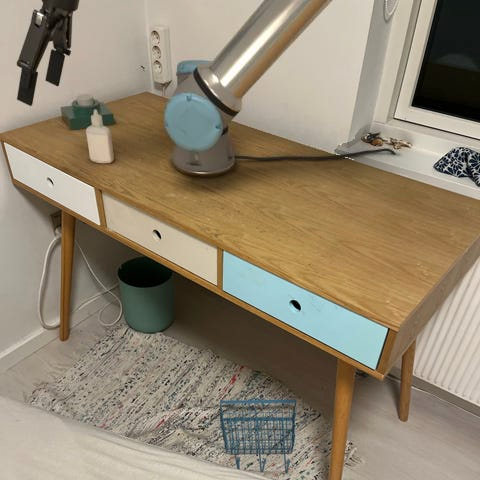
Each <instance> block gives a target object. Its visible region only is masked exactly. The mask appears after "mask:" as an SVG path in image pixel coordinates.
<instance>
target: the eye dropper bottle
mask: <svg viewBox="0 0 480 480" xmlns="http://www.w3.org/2000/svg"><path fill="white" fill-rule="evenodd" d="M91 121H92V125H91V126H89V127H88V128H85V129H86V130H85V134H86V141H87V149H88V155H89V160H90V161H91V162H93V163H98V164H111V163H113V161H114V160H115V156H114V155H115V154H114V147H113V139H112V131H111V129H110V128H109V127H107V126H103V122H102V116H101V115H99V114H98V111H97V110H96V109H95V110H94V114H93V115H92V116H91Z"/></svg>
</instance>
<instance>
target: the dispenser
mask: <svg viewBox="0 0 480 480" xmlns="http://www.w3.org/2000/svg"><path fill="white" fill-rule="evenodd" d="M93 100H94V104H93V105H90V106H80V105H77V99H74V100H72V102H71V104H70V105H67V106H59V107H60V112H61V117H62V119H63V121H64V122H65V124H66V125H67V127H68V128H69V129H70V131H75V130H84V129H87V128H88V127H89V126H91V125H92V121H91V116H92V115H93V114H94V110H95V109H96V110H97V111H98V114H99V115H101V116H102V122H103V126H105V127H107V126H113V125H115V118H114V112H113V111H112V110H110V108H108V106H107V105H106V104H105V103H104V102H102V101H101V102H100V101H99V100H98V99H95V98H93Z"/></svg>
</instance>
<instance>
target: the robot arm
mask: <svg viewBox="0 0 480 480" xmlns="http://www.w3.org/2000/svg"><path fill="white" fill-rule="evenodd" d="M41 2H42V5H41V8H40V9H39V10H37V9H35V8H34V9H33V11H32V15H31V18H30V24H29V27H28V30H27V33H26V35H25V39H24V41H23V44H22V47H21V49H20V54H19V56H18V59H17V60H16V66H17V67H18V68H20V69H21V72H20V76H19V82H18V83H19V84H18V89H17V96H16V100H17V101H19V102H21V103H23V104H24V105H27V106H29V107H32V106H33V104H34V98H35V92H36V87H37V81H38V76H39V71H37V70H38V68H39V66H40V63H41V62H42V59H43V57H44V55H45V52H46V49H47V47H48V45H49V43H50V42H52V45H53V48H52V49H50V54H49V59H48V63H47V68H46V69H47V70H46V74H45V80H44V81H45V82H47V83H49V84H51V85H53V86H56V87H59V86H60V83H61V79H62V74H63V70H64V69H63V68H64V64H65V59H66V56H68V57H70V56H71V54H72V50H71V49H72V48H71V47H72V37H73V36H72V35H73V15H74V12H76V11H77V10H78V9H79V6H80V5H79V4H80V0H41ZM332 2H333V0H263V1H262V2H261V3H260V4H259V6H258V7H257V8H256V9H255V11H253V13H252V14H251V15H250V16H249V17H248V18H247V20H246V21H245V22H244V23H243V25H242V26H241V27H240V28H239V29H238V30H237V32H236V33H235V34H234V35H233V36H232V38H230V40H229V41H228V42H227V43H226V44H225V46H224V47H223V48H222V49H221V50H220V52H219V53H218V54H217V55H216V57H215V58H213V60H205V59H204V60H203V59H190V60H189V59H188V60H187V59H186V60H182V61H179V62H178V63H177V65H176V73H175V76H176V88H175V90H174V91H173V93H172V95H171V97H170V99H169V100H168V101H167V102H166V106H165V107H164V116H163V122H164V123H163V124H164V128H165V130H166V133H167V135H168V136H169V139H171V141H172V142H173V143H174V147H173V151H172V154H171V155H172V156H171V163H172V167H173V168H174V169H175V170H176V171H178V172H179V173H181V174H185V175H187V176H192V177H198V178H213V177H218V176H222V175H225V174H227V173H230V172H231V171H232V170H233V169H234V168H235V163H236V162H235V161H236V159H237V160H248V161H249V160H250V161H251V160H252V161H281V160H309V161H310V160H314V161H316V160H331V159H332V160H333V159H341V158H350V157H355V156H356V157H357V156H360V155H366V154H376V153H382V152H389V153H390V154H392V155H393V156H396V155H397V153H396V152H395V151H394V150H393V149H391V148H387V147H386V148H378V149H370V150H369V149H368V150H362V151H357V152H351V153H344V154H343V153H342V154H335V155H322V156H321V155H320V156H303V155H301V156H300V155H299V156H298V155H286V156H285V155H284V156H283V155H282V156H264V157H263V156H261V157H260V156H248V155H235V153H234V149H233V146H232V142H231V138H230V136H229V124H230V123H231V122H232V120H233V119H235V117H236V116H238V114H239V113H240V112H241V111H242V110H243V98H244V96H245V95H246V94H247V93H248V92H249V91H250V90H251V89H252V88H253V87H254V86H255V84H256V83H258V82H259V80H261V78H262V77H263V76H264V75H265V74H266V73H267V71H269V69H270V68H271V67H272V66H274V64H275V63H276V62H277V61H278V59H280V58H281V57H282V56H283V54H285V52H286V51H287V50H288V49H289V48H290V47H291V46H292V45H293V44H294V43H295V41H297V39H298V38H299V37H300V36H301V35H302V34H303V33H304V32H305V31H306V29H308V27H310V26H311V24H312V23H313V22H314V21H315V20H316V19H317V18H318V17H319V16H320V14H321V13H322V12H324V10H325V9H326V8H327V7H328V6H329V5H330V4H331V3H332Z"/></svg>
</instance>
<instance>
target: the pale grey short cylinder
mask: <svg viewBox="0 0 480 480" xmlns="http://www.w3.org/2000/svg"><path fill="white" fill-rule="evenodd" d="M93 99H94V96H93V95H92V94H87V93H82V94H78V95H76V100H77V105H80V106H90V105H93V104H94V100H93Z"/></svg>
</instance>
